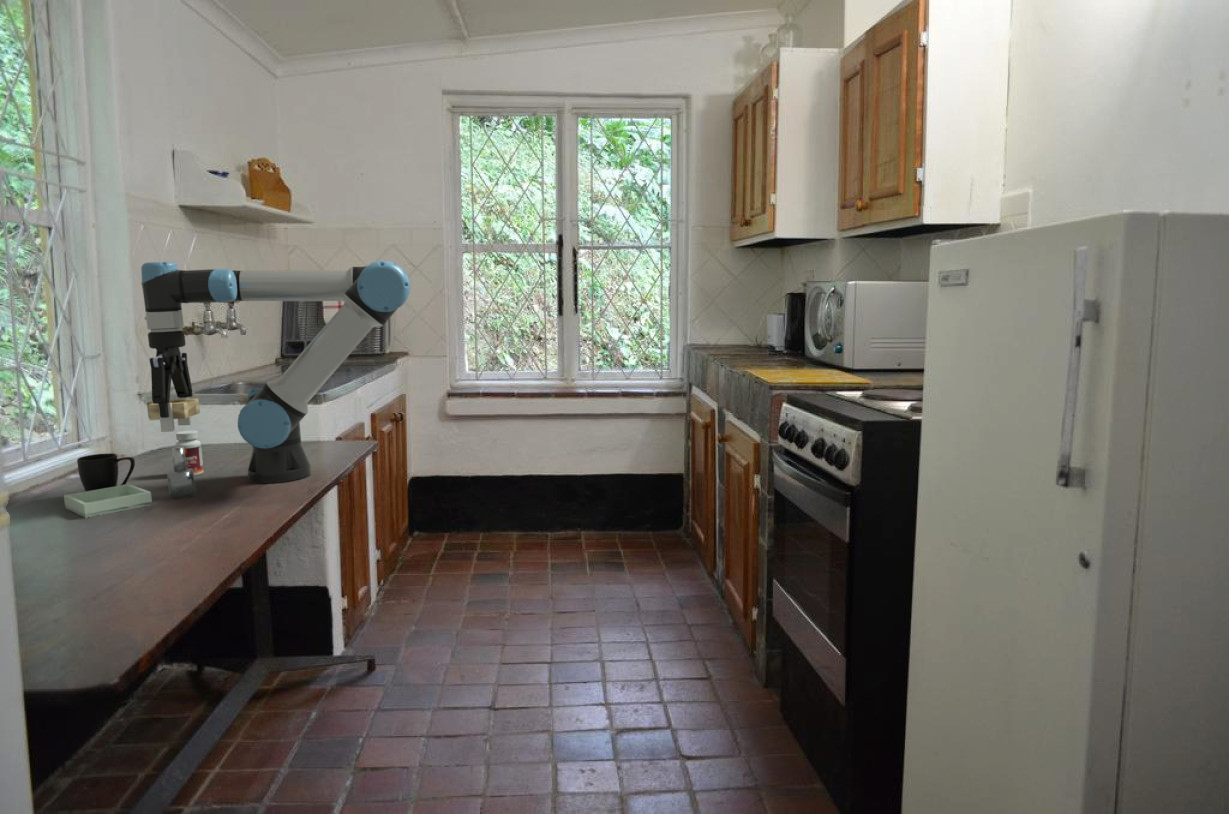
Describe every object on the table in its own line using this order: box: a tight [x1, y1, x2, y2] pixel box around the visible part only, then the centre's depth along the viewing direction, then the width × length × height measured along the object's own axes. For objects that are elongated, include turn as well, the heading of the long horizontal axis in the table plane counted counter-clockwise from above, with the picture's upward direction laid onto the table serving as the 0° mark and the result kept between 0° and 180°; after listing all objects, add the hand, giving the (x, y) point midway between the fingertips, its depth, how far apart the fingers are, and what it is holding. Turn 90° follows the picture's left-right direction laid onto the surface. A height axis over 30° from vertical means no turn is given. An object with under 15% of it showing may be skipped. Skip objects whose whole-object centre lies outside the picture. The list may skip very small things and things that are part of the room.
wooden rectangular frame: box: [146, 398, 201, 421], centre depth 205 cm, size 10×8×4 cm
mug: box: [76, 453, 136, 492], centre depth 210 cm, size 8×12×10 cm
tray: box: [63, 483, 153, 519], centre depth 199 cm, size 14×14×3 cm
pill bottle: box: [174, 429, 204, 477], centre depth 231 cm, size 6×6×11 cm
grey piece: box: [166, 447, 197, 500], centre depth 207 cm, size 6×6×12 cm
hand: (176, 428), depth 206 cm, fingers closed on wooden rectangular frame, 8 cm apart
